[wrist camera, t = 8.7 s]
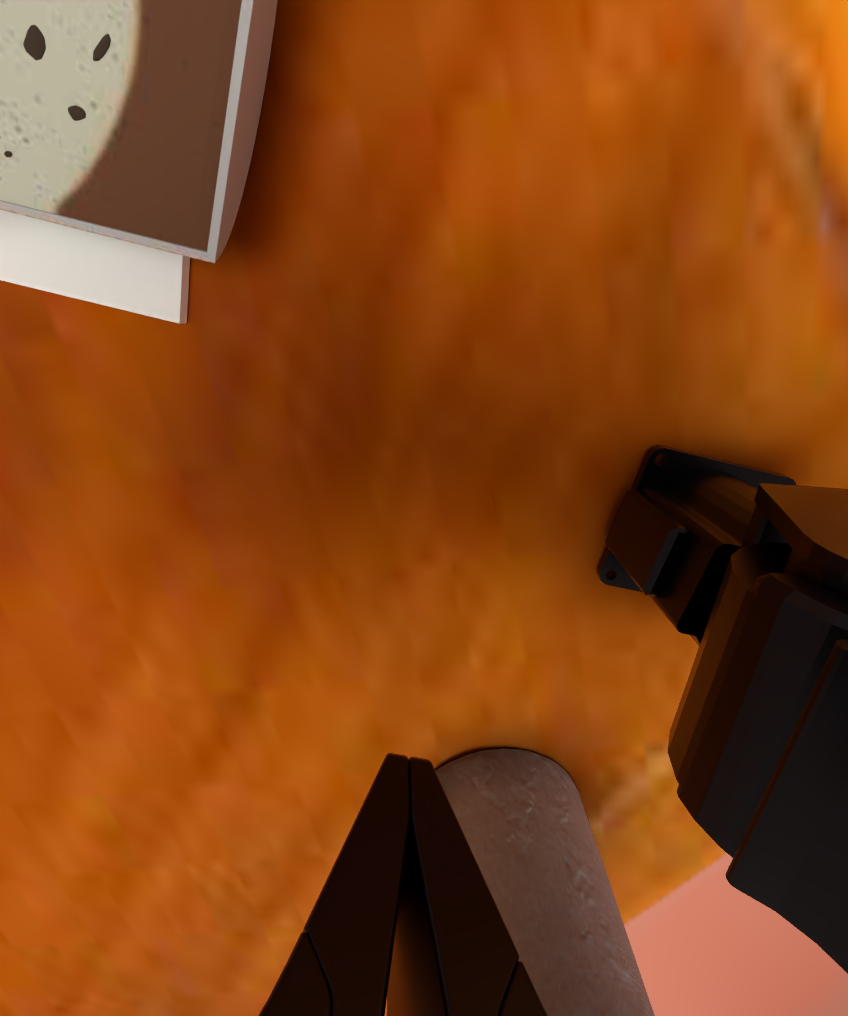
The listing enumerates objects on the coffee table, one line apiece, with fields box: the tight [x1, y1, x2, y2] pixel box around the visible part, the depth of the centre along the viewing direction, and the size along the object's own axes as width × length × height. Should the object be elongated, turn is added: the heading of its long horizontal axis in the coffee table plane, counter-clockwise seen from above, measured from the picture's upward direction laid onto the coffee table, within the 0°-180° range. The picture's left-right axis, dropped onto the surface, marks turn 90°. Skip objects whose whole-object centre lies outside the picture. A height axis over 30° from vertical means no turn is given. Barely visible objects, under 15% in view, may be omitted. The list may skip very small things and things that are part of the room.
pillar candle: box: [435, 748, 654, 1016], centre depth 21 cm, size 10×10×15 cm
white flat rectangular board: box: [0, 210, 190, 324], centre depth 15 cm, size 11×15×1 cm
